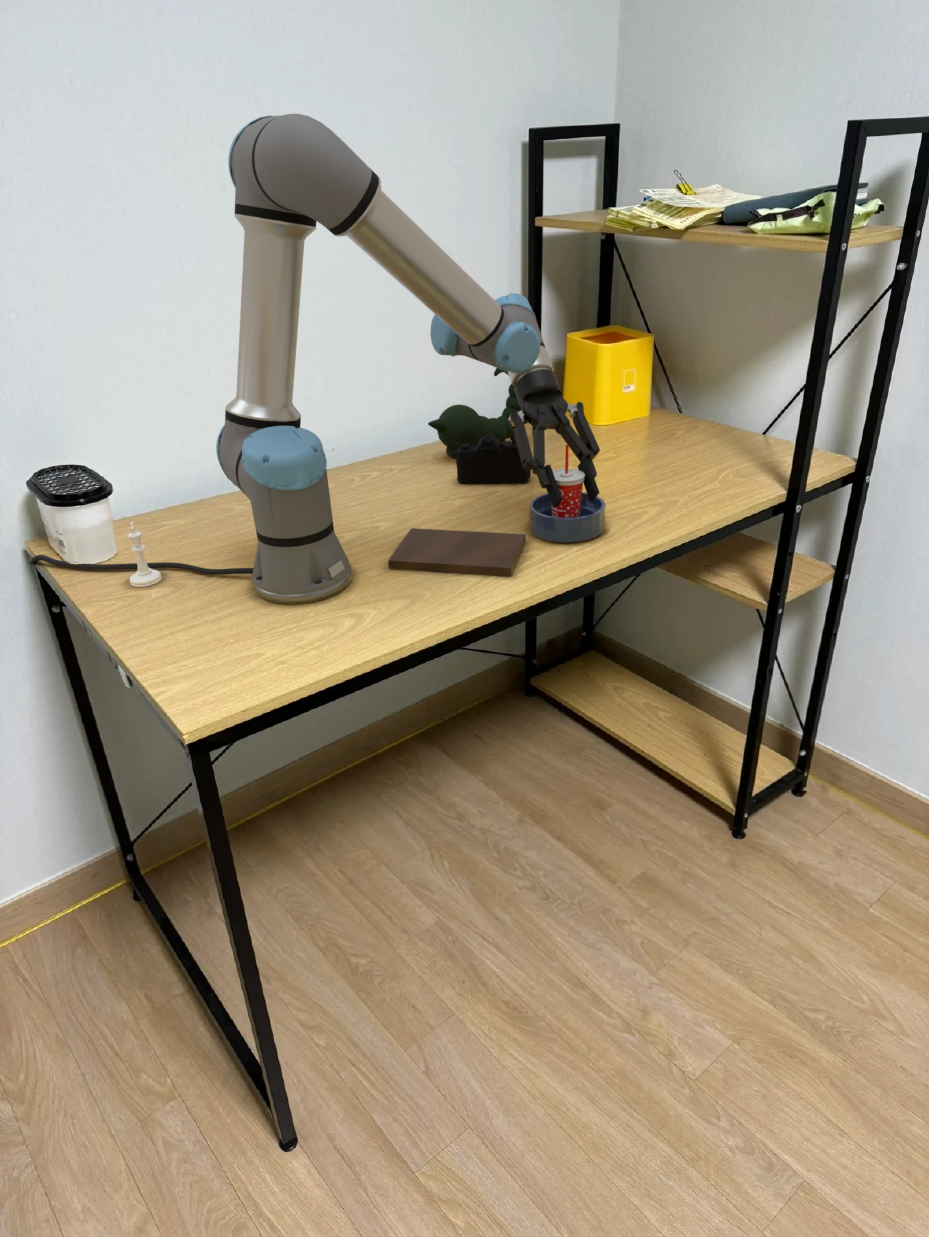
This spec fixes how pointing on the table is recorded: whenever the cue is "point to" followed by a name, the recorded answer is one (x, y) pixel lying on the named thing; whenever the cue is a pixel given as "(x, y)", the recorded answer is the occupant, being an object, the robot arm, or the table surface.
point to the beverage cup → (568, 491)
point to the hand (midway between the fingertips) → (576, 500)
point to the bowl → (567, 520)
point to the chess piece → (141, 563)
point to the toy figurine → (474, 424)
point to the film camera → (490, 463)
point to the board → (458, 552)
